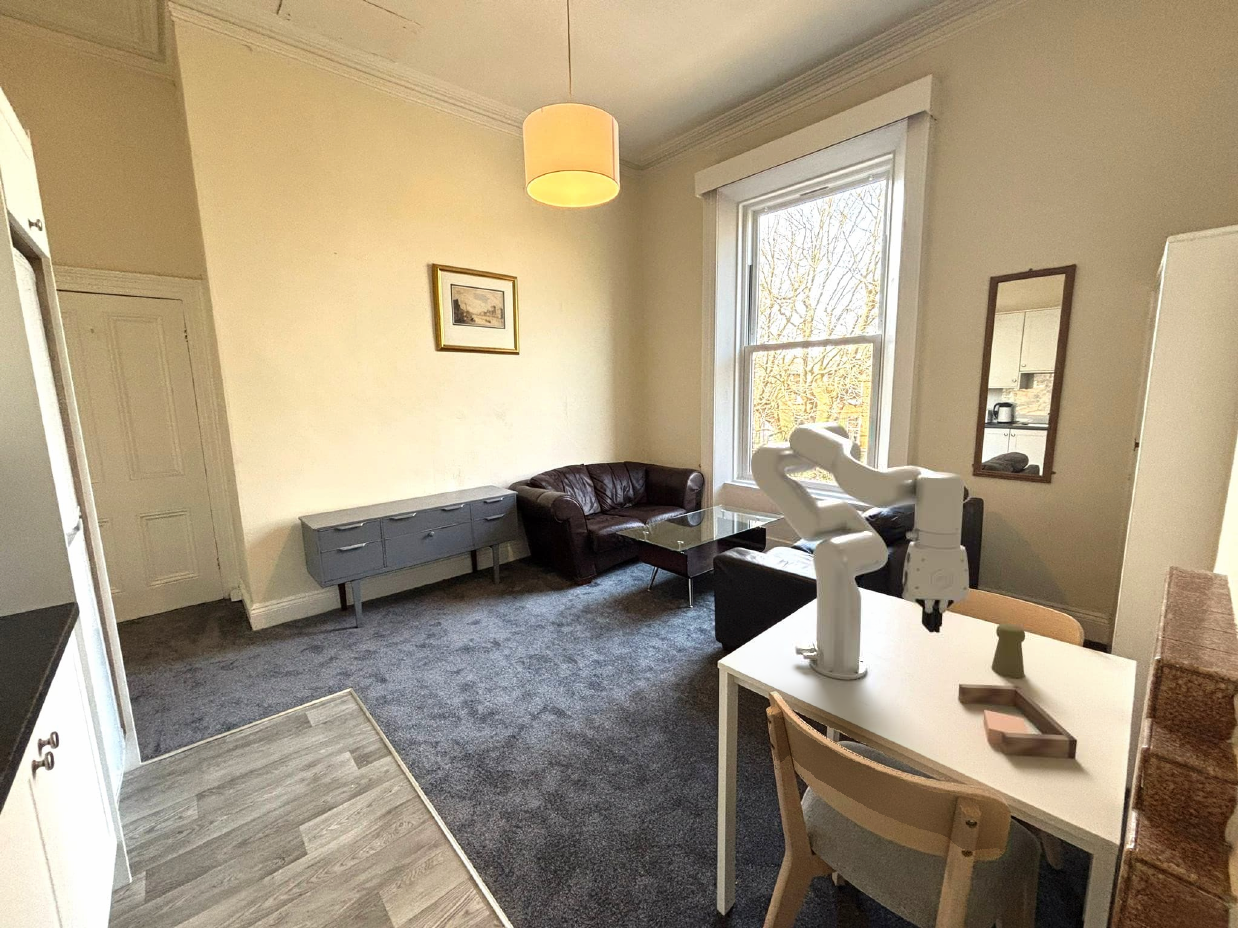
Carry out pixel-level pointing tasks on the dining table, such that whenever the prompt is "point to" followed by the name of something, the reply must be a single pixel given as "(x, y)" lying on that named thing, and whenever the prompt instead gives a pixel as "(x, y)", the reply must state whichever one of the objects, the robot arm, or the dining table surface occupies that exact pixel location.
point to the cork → (1009, 651)
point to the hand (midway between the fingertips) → (931, 629)
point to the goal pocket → (1042, 745)
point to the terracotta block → (1001, 725)
